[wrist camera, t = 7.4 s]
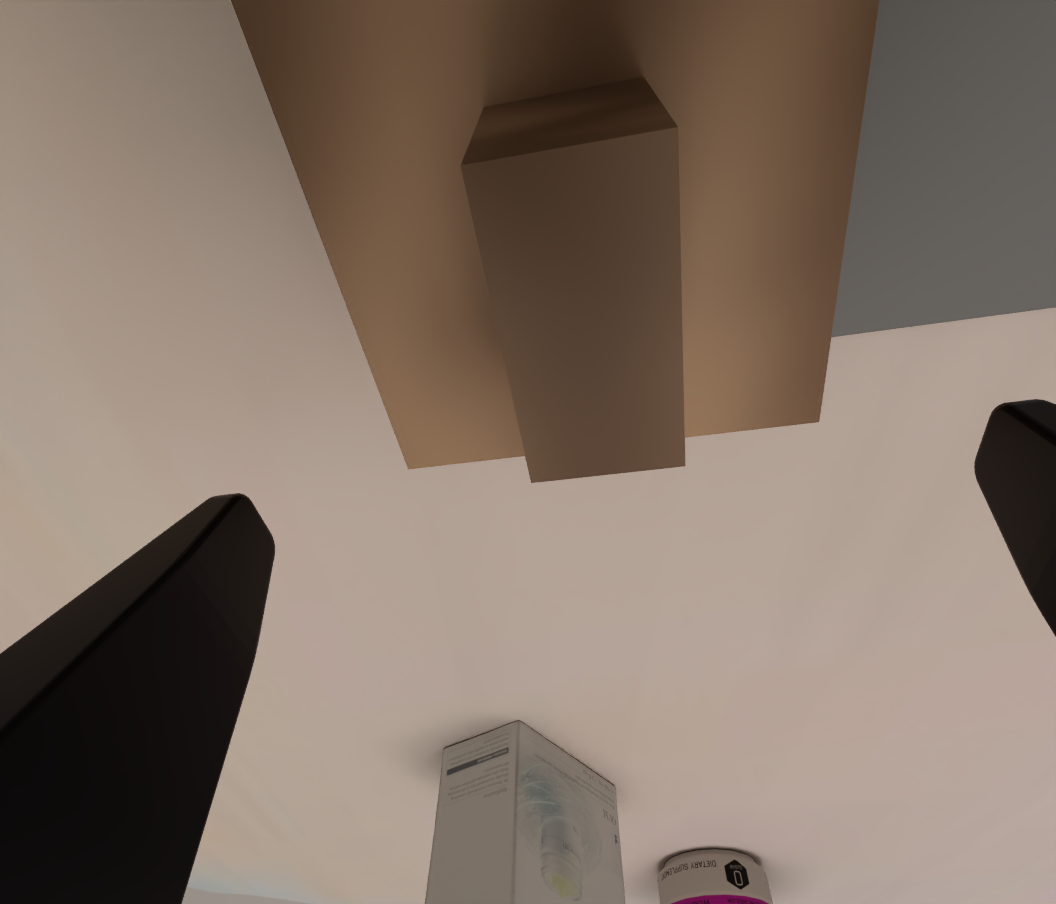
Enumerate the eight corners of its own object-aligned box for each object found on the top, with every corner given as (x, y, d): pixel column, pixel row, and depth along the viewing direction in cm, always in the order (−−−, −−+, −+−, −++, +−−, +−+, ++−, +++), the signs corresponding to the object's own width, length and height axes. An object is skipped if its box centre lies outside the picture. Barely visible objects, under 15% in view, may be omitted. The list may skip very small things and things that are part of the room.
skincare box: (621, 783, 41) (638, 990, 33) (542, 807, 44) (540, 1004, 36) (522, 716, 36) (514, 941, 28) (440, 747, 39) (410, 961, 31)
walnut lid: (880, -156, 10) (1072, -212, 6) (809, 404, 17) (881, 535, 13) (244, -14, 12) (98, 9, 8) (413, 451, 18) (378, 582, 15)
